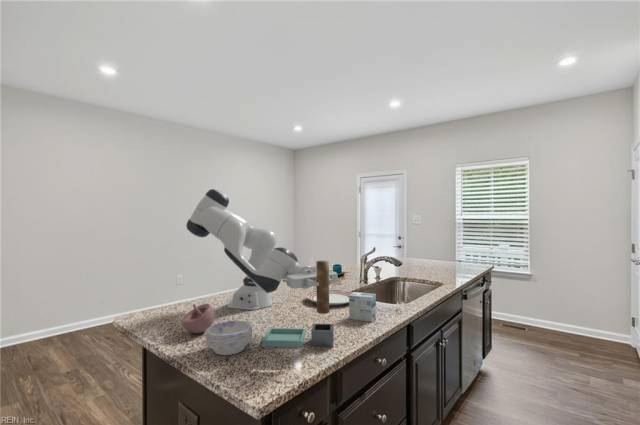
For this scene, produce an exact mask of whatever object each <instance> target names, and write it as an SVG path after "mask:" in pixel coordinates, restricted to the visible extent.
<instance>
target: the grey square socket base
mask: <svg viewBox="0 0 640 425" xmlns="http://www.w3.org/2000/svg"><path fill="white" fill-rule="evenodd" d="M334 331H335V330H334V323H316V322H315V323H314V322H313V324H312V327H311V334H310V335H311V339H310V340H311V347H312V348H334V337H335V334H334V333H335V332H334Z"/></svg>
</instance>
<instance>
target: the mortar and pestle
mask: <svg viewBox="0 0 640 425" xmlns="http://www.w3.org/2000/svg"><path fill="white" fill-rule="evenodd" d="M192 307H193V309H191V310H190V311H189V312H187V314H185V315H184V316H183V318H182V321H181V323H182V326H183V327H184V329H185V330H186V331H187V332H189V333H192V334H201V333H205V332H206V330H207V329H208V328H209V327H210V326H212V325H213V324H214V320H215V310H214V309H213V307H212V305H210V304H209V303H203V304H200V305H196V304H192Z"/></svg>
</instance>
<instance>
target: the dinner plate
mask: <svg viewBox="0 0 640 425" xmlns="http://www.w3.org/2000/svg"><path fill="white" fill-rule="evenodd" d="M351 293H353V292H351V291H349V290H344V289H336V288H335V289H333V288H329V307H331V306H333V307H334V306H341V305H345V304H349V295H350V294H351ZM305 298H306V299H308V300H310V301H311V302H314V303H316V304H317V289H314V290H310V291H309V292H307V293H306V294H305Z"/></svg>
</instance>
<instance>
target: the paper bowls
mask: <svg viewBox="0 0 640 425" xmlns="http://www.w3.org/2000/svg"><path fill="white" fill-rule="evenodd" d="M205 336H206V337H205V338H206V339H205V341H206V342H205V343H206V344H205V345H206V347H207V348H210V349H212V351H213V352H214V354H217V355H219V356H232V354H233V355H236V354H239V353H241V352H243V351H244V350H245V348H246V346H247V345H249V343H251V342H252V339H253V326H252V323H250V322H248V321H245V320H227V321H221V322H218V323H213V324H212V325H211V326H210V327H209V328H208V329H207V330H206V331H205Z"/></svg>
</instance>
